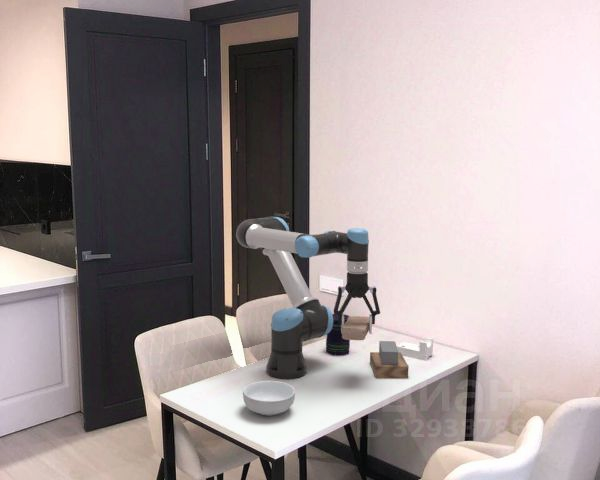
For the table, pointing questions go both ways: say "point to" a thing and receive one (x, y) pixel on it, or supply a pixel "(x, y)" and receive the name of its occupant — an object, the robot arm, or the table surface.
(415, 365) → the table surface
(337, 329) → the dark blue barrel
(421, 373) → the table surface
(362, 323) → the brick
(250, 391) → the cereal bowl
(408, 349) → the bracket
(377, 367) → the tower base
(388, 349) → the tower top
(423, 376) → the table surface
